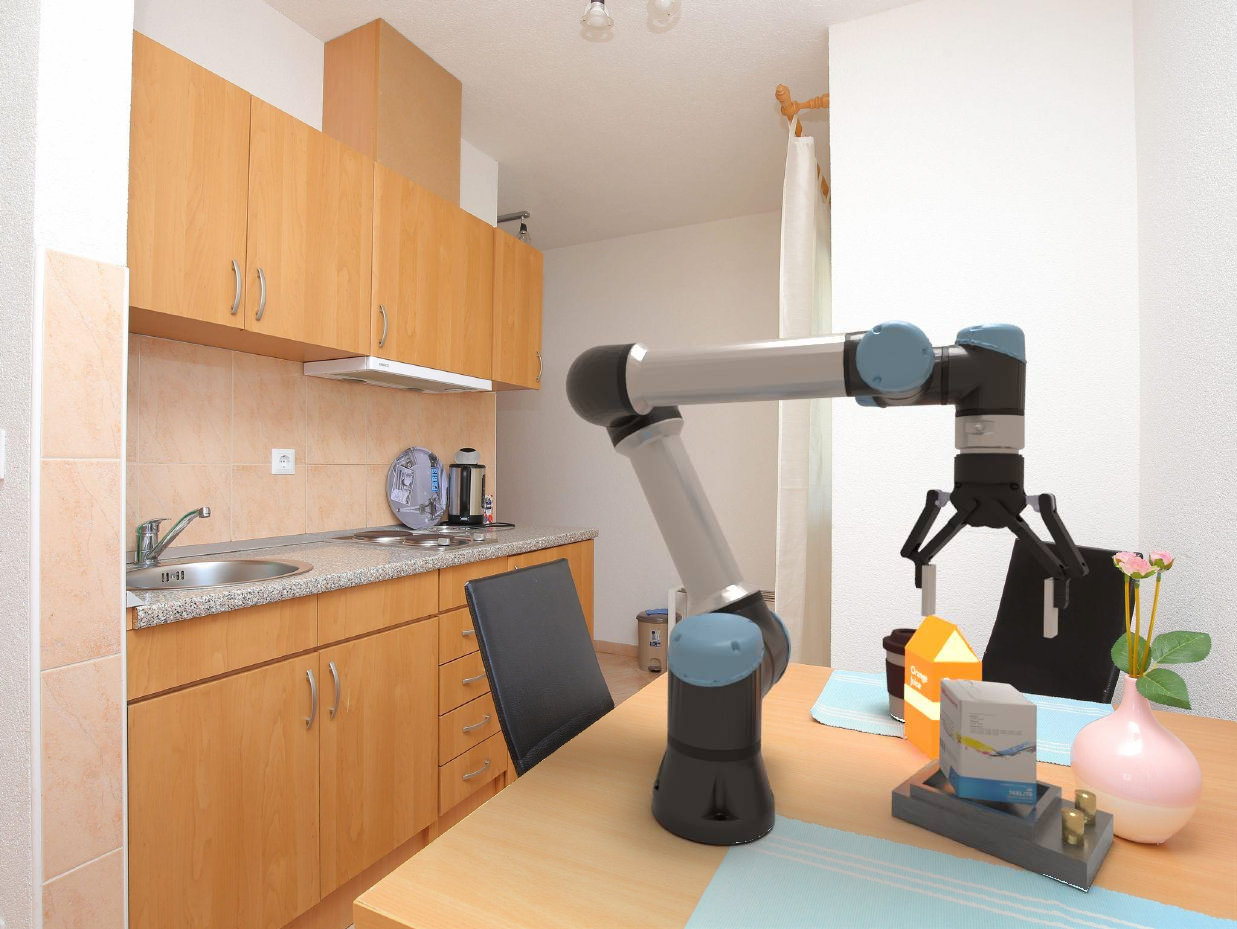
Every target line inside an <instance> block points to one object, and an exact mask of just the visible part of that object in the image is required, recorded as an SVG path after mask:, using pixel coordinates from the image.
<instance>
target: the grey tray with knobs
mask: <svg viewBox="0 0 1237 929" xmlns="http://www.w3.org/2000/svg"><path fill="white" fill-rule="evenodd" d="M1062 793H1063V788H1062V786H1058V785H1056V784H1052V783H1048V782H1046V781H1042V780H1039V779H1037V780H1036V805H1029V804H1019V803H1009V802H999V801H990V800H981V799H971V798H963V797H959V796H958V795H957V793H956V792H955V790H954V788H953V787H952V786H951V784H950V782H949V781H948V779H947V778H946V776H945V775H944V773H943V772H942V770H941V769H940V767H939V759H936V758H934V759H933V760H931V761H929V762H928V763H926V764H925V765H924V766H922V767H921V768H920V769H919V770H917V771H915V773H913V774H912V775H911V776H910V777H908V778H907V779H906V780H904V781H903V782H901V783H900V784H898V786H896V787H895V788H894V789H892V790H891V816H893V817H895V818H897V819H900V820H902V821H906V822H908V823H910V824H913V825H916V826H918V827H921V828H923V829H926V830H928V831H931V832H933V833H936V834H939V835H940V836H943V837H946V838H947V839H948V838H949V839H951V840H953V841H954V842H955V841H956V842H958V843H961V844H963V845H966V846H969V847H970V848H974V849H976V850H978V851H981V852H984V853H986V854H988V855H991V856H994V857H996V858H999V859H1001V860H1004V861H1005V862H1009V863H1011V864H1014V865H1016V866H1018V867H1021V868H1024V869H1026V870H1029V871H1031V872H1034V873H1036V874H1038V875H1041V874H1045V875H1048V876H1051V877H1053V878H1056V879H1059V880H1061V881H1065V882H1067V883H1068V884H1072V885H1075V886H1078V887H1080V888H1083V889H1084V890H1087V889H1088V887H1089V886H1090V887H1091V885H1092V883H1093V881H1094V879H1095V877H1096V875H1097V873H1098V871H1099V869H1100V867H1101V865H1102V863H1103V861H1104V860H1105V858H1106V856H1107V854H1108V852H1109V850H1110V848H1111V846H1112V844H1113V842H1114V813H1113V814H1112V813H1110V812H1106V811H1104V810H1100V809H1097V796H1096V794H1095V793H1094V792H1091V791H1088V790H1085V789H1075V790H1074V801H1071V800H1068V799H1065V798H1063V797H1062V796H1063V794H1062ZM1090 887H1089V888H1090ZM1088 890H1089V889H1088Z"/></svg>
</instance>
